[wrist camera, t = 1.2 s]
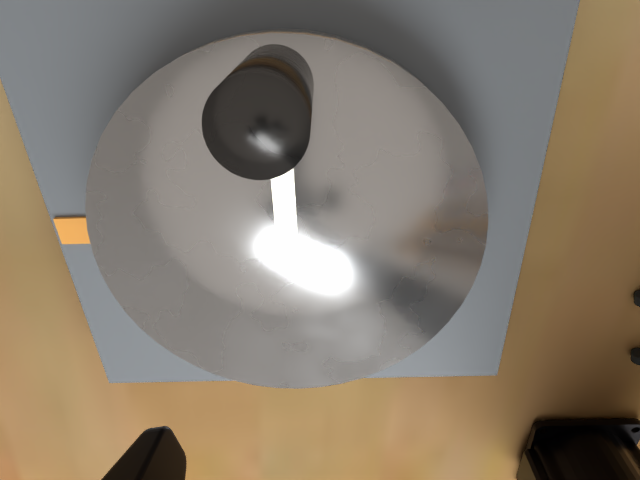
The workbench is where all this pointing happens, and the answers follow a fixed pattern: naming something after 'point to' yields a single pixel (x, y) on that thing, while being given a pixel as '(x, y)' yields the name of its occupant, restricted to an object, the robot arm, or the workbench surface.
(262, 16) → the stand plate
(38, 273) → the workbench surface
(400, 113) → the dial
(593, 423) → the robot arm
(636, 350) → the robot dog
